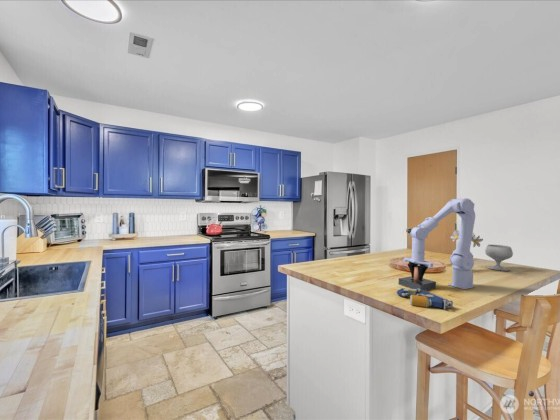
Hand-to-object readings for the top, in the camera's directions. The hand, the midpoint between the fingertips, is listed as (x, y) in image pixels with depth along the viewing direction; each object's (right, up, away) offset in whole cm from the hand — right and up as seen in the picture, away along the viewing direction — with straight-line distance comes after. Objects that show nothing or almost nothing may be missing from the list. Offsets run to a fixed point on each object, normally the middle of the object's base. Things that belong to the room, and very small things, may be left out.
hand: (417, 278), depth 138 cm
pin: (0, -3, 0) cm, 2 cm away
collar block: (0, -4, 0) cm, 4 cm away
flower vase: (+47, -4, +35) cm, 59 cm away
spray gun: (-9, -5, -22) cm, 24 cm away
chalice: (+73, -4, +41) cm, 84 cm away
